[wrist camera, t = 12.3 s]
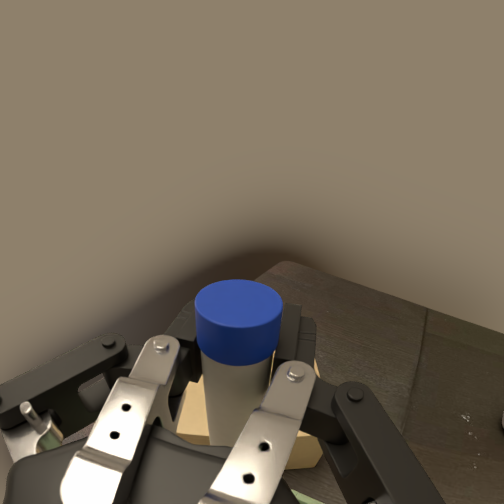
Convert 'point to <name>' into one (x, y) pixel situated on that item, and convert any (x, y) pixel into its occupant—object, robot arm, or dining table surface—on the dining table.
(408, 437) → the dining table surface
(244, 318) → the marker
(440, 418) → the dining table surface
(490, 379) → the dining table surface
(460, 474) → the dining table surface
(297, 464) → the cabinet
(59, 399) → the robot arm
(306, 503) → the tray
